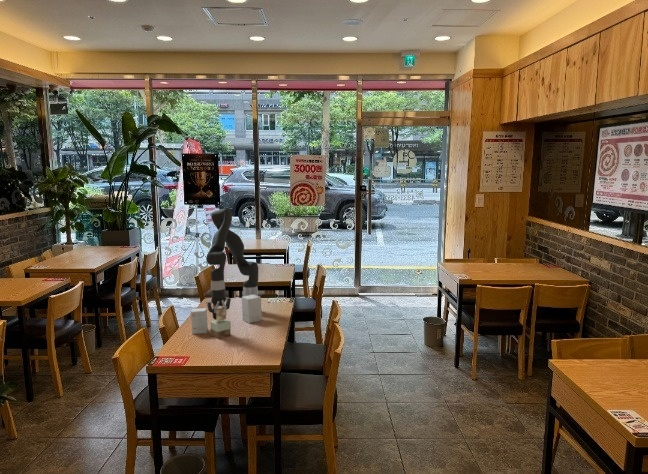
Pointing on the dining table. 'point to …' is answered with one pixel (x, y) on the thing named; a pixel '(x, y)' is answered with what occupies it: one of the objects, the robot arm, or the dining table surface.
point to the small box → (199, 321)
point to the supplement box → (251, 308)
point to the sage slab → (220, 325)
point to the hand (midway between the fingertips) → (219, 317)
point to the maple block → (220, 314)
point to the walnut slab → (220, 333)
